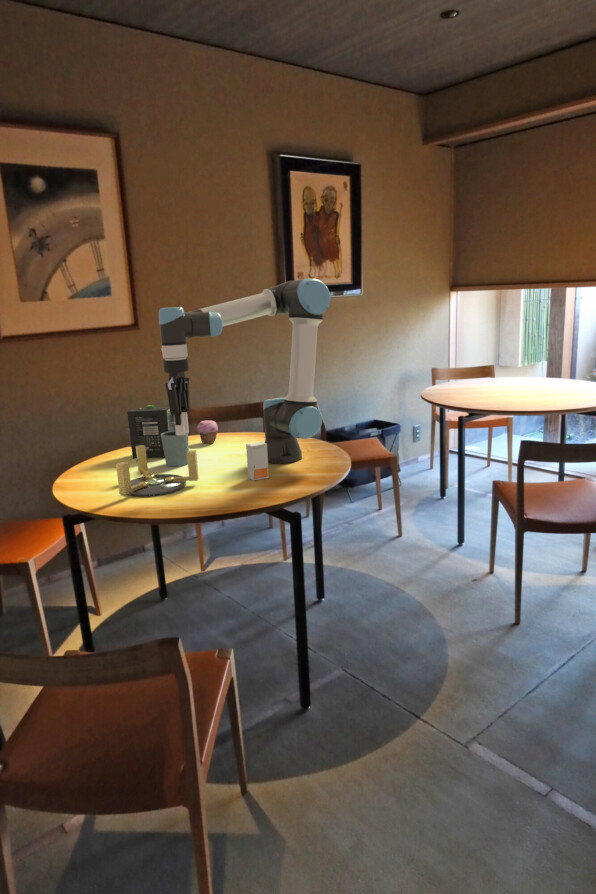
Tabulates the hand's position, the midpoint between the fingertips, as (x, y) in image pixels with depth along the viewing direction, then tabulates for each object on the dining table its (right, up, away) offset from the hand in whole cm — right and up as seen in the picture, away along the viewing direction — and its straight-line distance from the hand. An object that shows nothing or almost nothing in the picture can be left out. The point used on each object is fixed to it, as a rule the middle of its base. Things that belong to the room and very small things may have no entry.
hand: (182, 433), depth 192 cm
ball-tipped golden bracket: (-15, -18, +1) cm, 23 cm away
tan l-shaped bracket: (-2, -15, +8) cm, 18 cm away
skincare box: (+23, -15, +13) cm, 31 cm away
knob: (-15, -14, +16) cm, 26 cm away
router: (-21, -8, +52) cm, 57 cm away
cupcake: (-2, -3, +69) cm, 69 cm away
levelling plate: (-11, -17, +9) cm, 22 cm away
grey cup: (-9, -11, +37) cm, 40 cm away
